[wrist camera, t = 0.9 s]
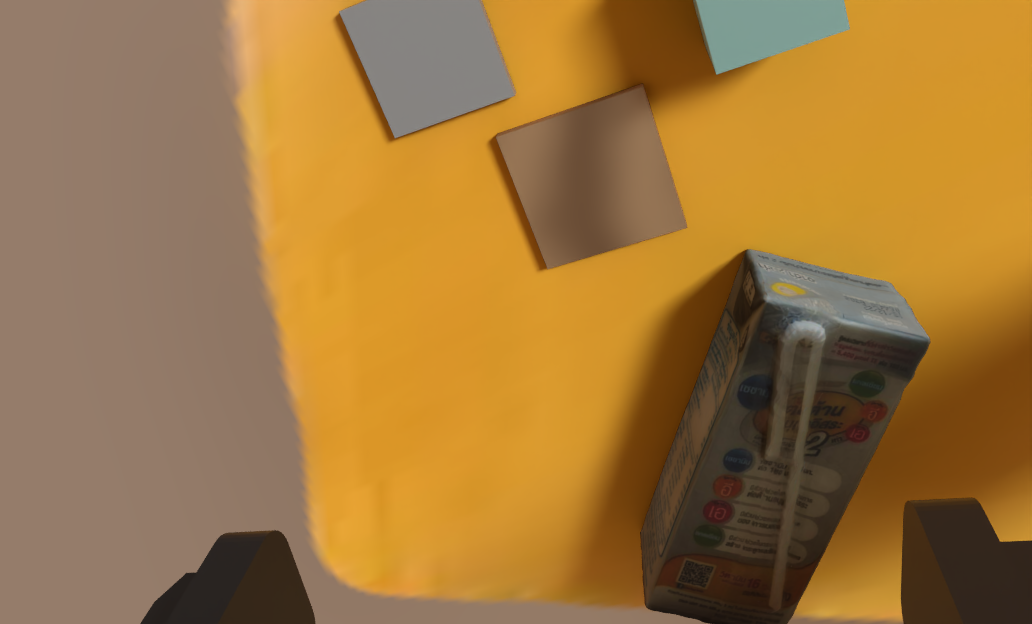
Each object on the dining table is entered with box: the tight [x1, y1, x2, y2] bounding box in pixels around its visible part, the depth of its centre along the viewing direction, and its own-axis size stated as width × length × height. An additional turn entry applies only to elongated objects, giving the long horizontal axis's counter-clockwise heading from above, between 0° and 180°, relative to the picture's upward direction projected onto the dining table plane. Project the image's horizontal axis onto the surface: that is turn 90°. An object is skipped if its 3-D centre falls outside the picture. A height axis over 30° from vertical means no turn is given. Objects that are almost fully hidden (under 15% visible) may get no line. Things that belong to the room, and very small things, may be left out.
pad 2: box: [496, 84, 687, 269], centre depth 41 cm, size 7×7×1 cm
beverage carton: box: [640, 250, 930, 624], centre depth 44 cm, size 8×19×7 cm, turn 168°
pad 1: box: [339, 0, 516, 138], centre depth 39 cm, size 6×6×1 cm
